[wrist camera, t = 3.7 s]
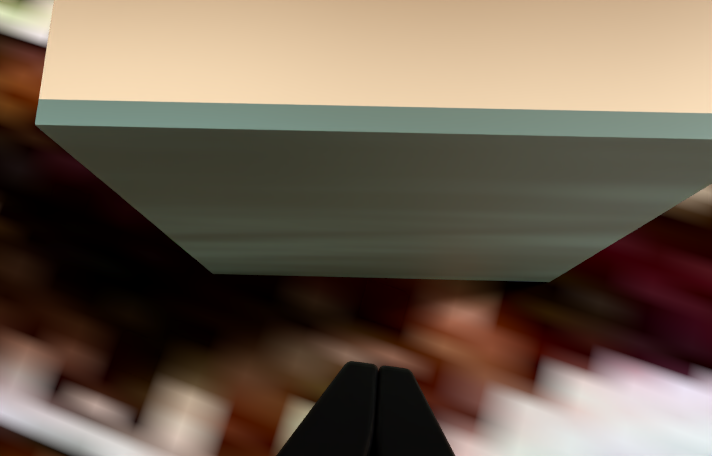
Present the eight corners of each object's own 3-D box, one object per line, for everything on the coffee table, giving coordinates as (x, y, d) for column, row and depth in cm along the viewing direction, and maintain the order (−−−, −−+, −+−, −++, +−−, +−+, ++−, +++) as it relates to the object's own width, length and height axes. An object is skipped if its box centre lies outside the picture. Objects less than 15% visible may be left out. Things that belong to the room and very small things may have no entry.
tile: (548, 281, 16) (782, 140, 7) (213, 274, 16) (34, 124, 7) (542, 143, 17) (742, -134, 8) (224, 137, 17) (76, -146, 8)
